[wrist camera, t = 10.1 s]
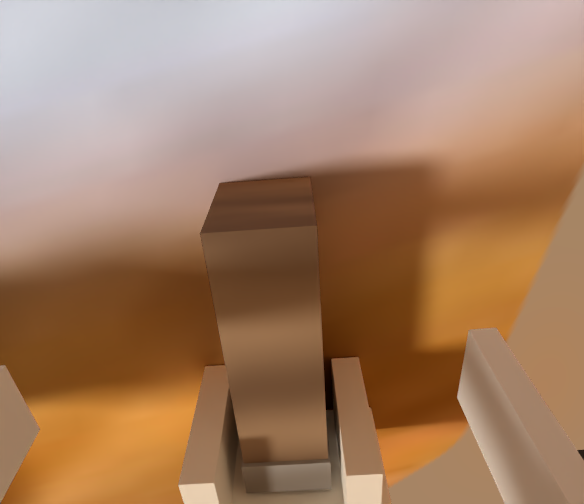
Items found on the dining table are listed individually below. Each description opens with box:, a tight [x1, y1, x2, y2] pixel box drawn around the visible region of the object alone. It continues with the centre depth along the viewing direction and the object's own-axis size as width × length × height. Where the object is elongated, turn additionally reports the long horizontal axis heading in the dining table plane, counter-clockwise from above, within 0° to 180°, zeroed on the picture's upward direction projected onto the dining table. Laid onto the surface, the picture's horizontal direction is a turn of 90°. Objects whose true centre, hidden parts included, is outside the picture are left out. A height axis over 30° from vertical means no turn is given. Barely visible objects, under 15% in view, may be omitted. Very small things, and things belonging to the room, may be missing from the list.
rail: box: [200, 177, 332, 493], centre depth 21 cm, size 14×4×5 cm, turn 4°
